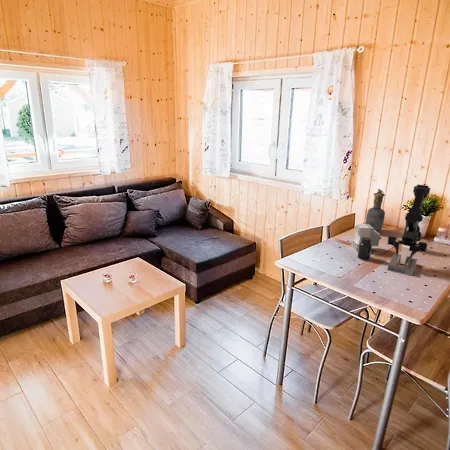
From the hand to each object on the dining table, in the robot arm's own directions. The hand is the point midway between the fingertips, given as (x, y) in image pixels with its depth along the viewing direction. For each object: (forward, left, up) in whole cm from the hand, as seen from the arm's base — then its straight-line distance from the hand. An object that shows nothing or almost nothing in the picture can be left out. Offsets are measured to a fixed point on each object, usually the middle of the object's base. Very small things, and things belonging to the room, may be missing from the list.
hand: (403, 257), depth 183 cm
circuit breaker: (-3, -29, -7) cm, 30 cm away
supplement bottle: (+8, -19, -7) cm, 22 cm away
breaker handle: (-1, -1, -4) cm, 4 cm away
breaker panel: (-3, -2, -7) cm, 8 cm away
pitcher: (-33, -54, -7) cm, 63 cm away
